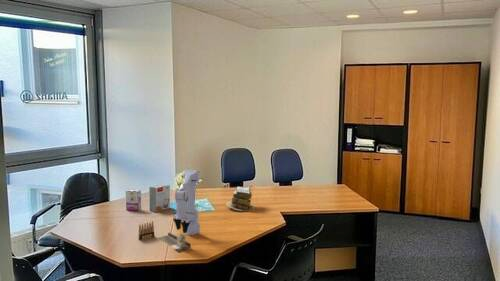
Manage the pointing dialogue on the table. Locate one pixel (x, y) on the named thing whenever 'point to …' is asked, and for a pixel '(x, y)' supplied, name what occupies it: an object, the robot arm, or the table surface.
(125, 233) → the table surface
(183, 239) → the block
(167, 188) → the hard drive box
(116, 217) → the table surface
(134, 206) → the candy bar box
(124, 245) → the table surface
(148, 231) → the ammunition clip
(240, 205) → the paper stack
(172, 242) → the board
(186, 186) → the robot arm
